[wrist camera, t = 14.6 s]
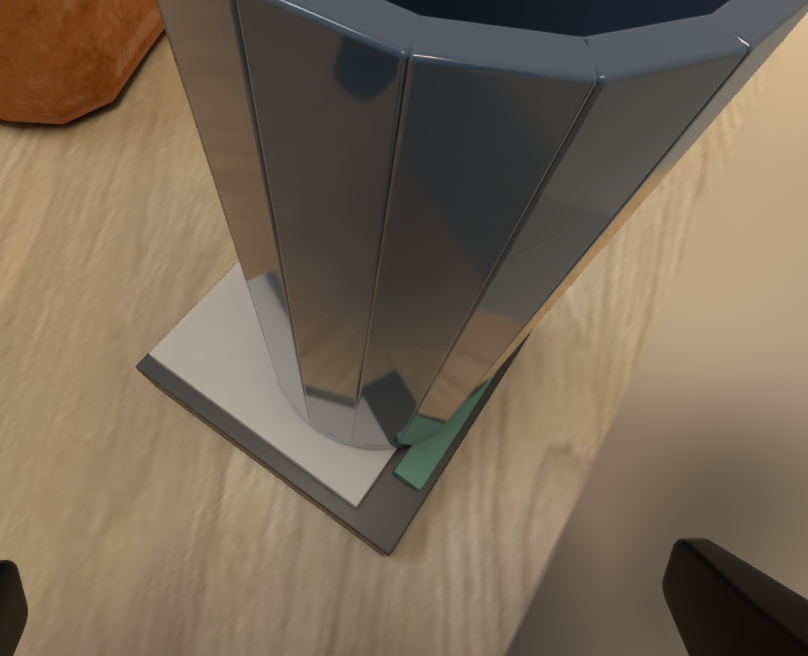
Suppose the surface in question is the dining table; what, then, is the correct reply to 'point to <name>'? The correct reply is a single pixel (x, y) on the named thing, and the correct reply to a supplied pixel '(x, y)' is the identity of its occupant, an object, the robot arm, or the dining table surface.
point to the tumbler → (439, 172)
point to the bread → (70, 54)
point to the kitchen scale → (296, 419)
